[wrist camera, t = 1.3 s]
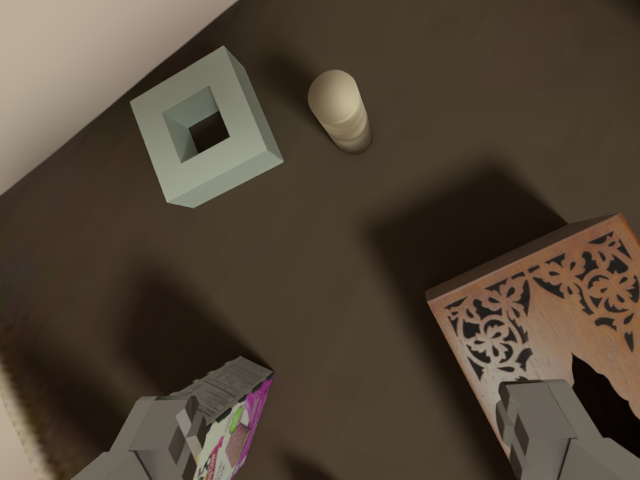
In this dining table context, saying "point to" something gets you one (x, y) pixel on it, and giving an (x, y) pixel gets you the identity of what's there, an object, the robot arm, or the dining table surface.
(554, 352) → the tissue box cover
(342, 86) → the peg
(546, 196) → the dining table surface
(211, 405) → the candy bar box
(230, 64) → the socket block
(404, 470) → the dining table surface
